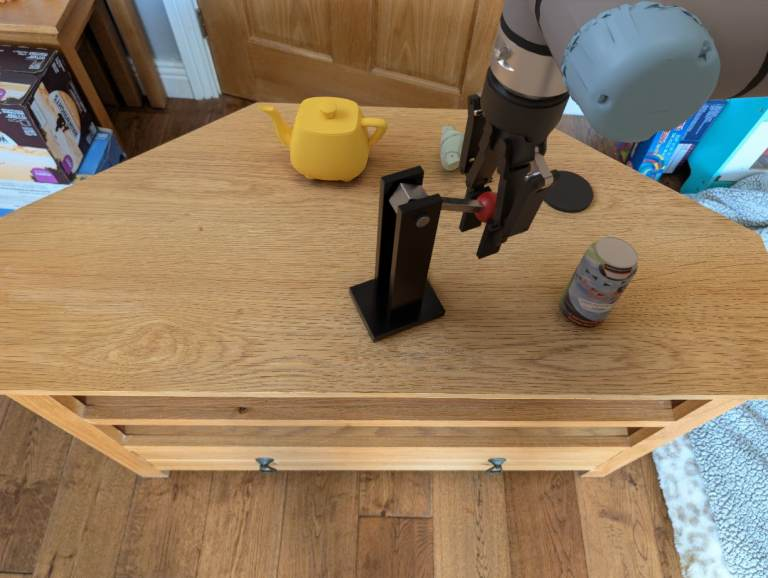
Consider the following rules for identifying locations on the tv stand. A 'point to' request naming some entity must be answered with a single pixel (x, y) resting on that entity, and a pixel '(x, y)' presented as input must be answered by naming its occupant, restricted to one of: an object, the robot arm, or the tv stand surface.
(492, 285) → the tv stand surface
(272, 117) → the teapot
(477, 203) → the lever
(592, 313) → the beverage can
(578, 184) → the coaster
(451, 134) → the pale green rounded lump
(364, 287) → the bracket
